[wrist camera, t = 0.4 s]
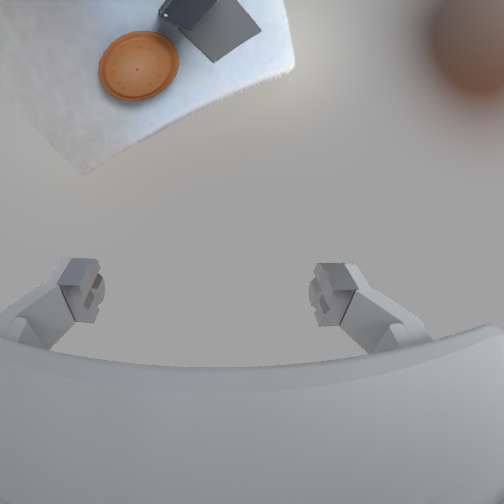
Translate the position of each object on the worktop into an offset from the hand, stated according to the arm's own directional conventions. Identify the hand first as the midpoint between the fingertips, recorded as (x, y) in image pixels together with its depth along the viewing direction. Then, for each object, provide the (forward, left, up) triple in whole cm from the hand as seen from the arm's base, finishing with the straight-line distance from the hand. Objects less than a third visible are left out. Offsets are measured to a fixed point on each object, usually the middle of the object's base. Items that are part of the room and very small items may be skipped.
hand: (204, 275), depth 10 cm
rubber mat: (+9, +6, -51) cm, 52 cm away
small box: (-1, +6, -51) cm, 52 cm away
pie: (+3, -10, -51) cm, 52 cm away
